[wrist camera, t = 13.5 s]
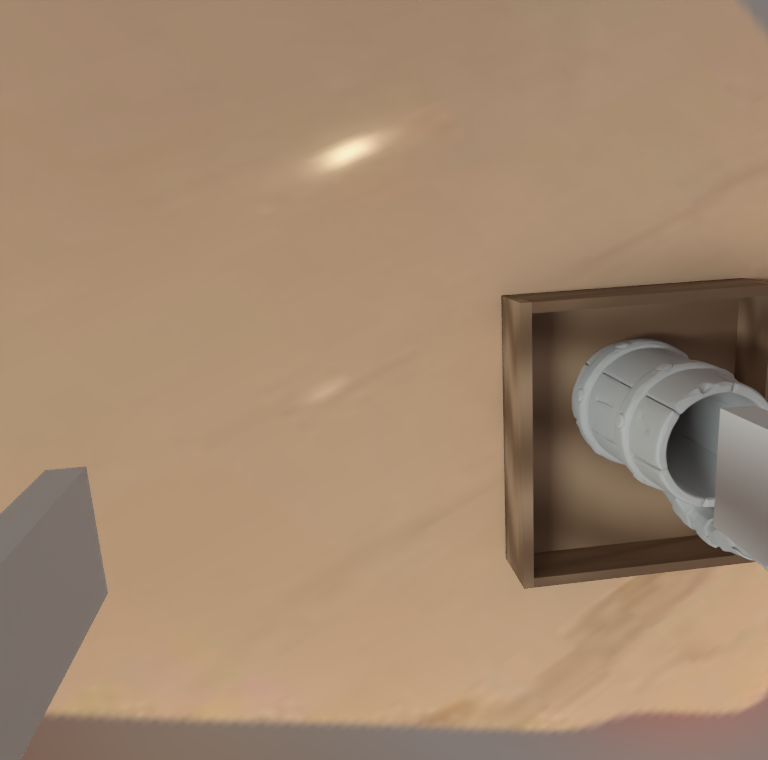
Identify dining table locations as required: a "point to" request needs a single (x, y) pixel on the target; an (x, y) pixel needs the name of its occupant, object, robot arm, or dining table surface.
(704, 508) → the mug
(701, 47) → the dining table surface
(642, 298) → the wooden tray
